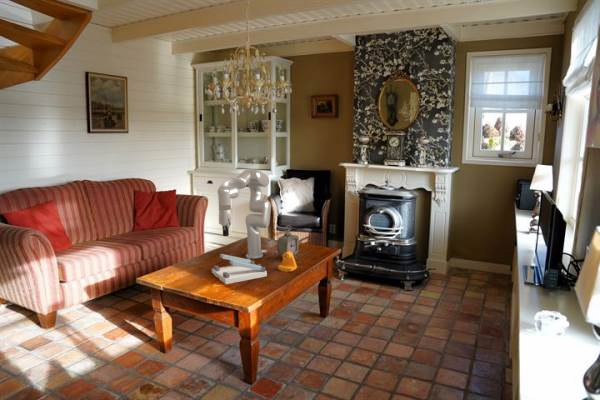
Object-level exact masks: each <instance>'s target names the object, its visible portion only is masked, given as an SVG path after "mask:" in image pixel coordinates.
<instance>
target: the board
mask: <svg viewBox="0 0 600 400" xmlns="http://www.w3.org/2000/svg"><path fill="white" fill-rule="evenodd" d="M246 259H248V260H251V258H247V257H246ZM251 264H253V265H256V264H255V260H251ZM257 265H258V266H261V267H262V271H260V270H255V269H250V268H245V267H240V266H235V265H232V264H231V265H227V266H222V267H221V266H218V265H216V264H215V265H213V268H211V274H212V273H213V274H214V275H213V274H212V275H213V276H214V277H216V278H217V277H218V278H219V279H218V278H217V279H218V280H220V281H221V282H222V283H223V284H225V285H229V284H234V283H238V282H245V281H248V280H253V279H254V280H255V279H260V278H264V277H267V276H268V273H267V270H266V266H262V265H261V263H260V264H257Z"/></svg>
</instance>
